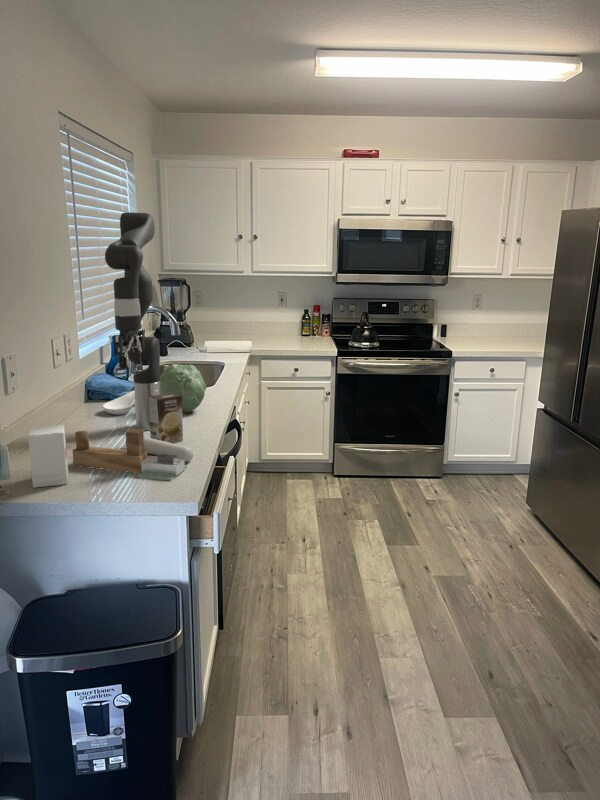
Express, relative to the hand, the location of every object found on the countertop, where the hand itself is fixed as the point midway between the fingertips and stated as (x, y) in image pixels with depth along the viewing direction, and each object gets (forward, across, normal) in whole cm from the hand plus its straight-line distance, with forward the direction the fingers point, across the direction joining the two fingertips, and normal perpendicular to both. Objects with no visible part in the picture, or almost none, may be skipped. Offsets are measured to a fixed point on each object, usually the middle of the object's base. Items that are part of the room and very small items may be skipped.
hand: (130, 366), depth 178 cm
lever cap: (+28, +13, +16) cm, 34 cm away
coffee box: (+28, -14, +4) cm, 32 cm away
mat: (+28, +13, +16) cm, 35 cm away
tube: (+26, +2, +8) cm, 27 cm away
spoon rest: (+29, -48, -30) cm, 64 cm away
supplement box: (+28, +27, -11) cm, 41 cm away
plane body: (+28, +13, -1) cm, 31 cm away
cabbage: (+28, -51, -7) cm, 59 cm away
